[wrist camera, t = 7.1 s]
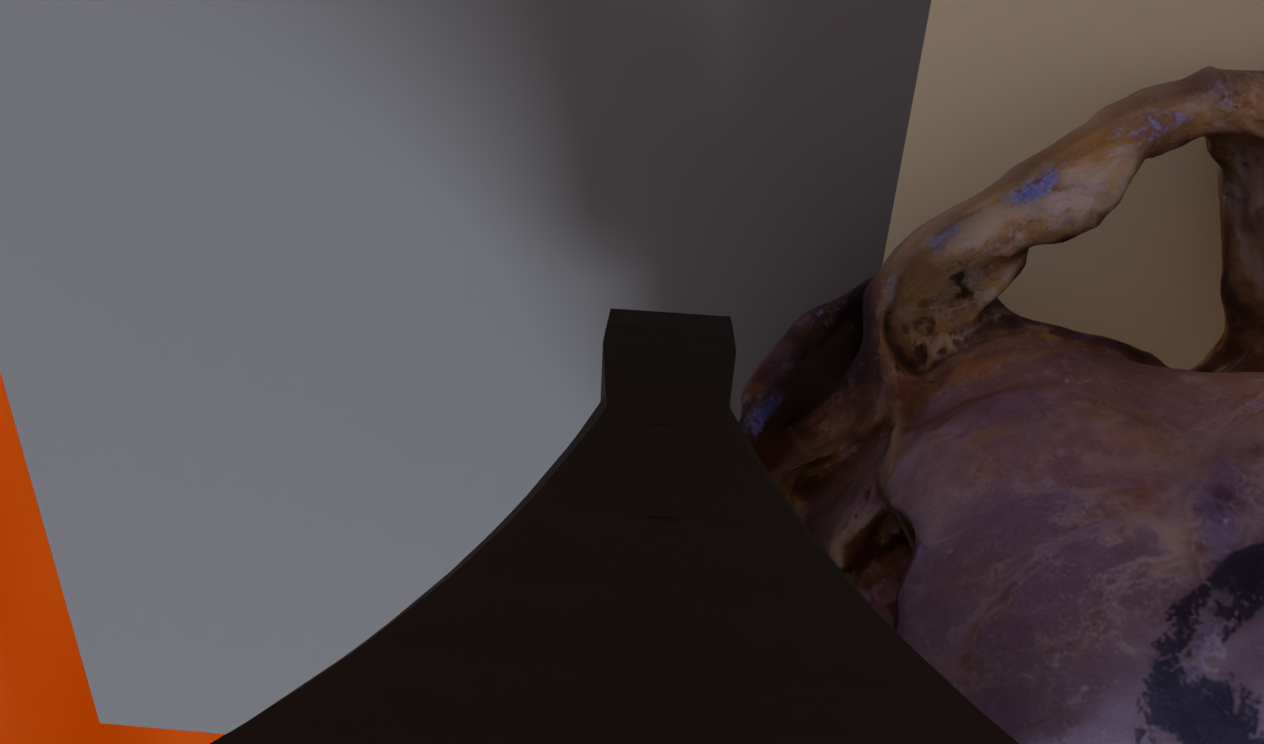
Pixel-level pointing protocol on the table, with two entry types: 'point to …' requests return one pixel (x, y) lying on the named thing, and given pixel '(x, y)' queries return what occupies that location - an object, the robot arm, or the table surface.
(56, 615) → the table surface
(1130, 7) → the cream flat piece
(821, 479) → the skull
